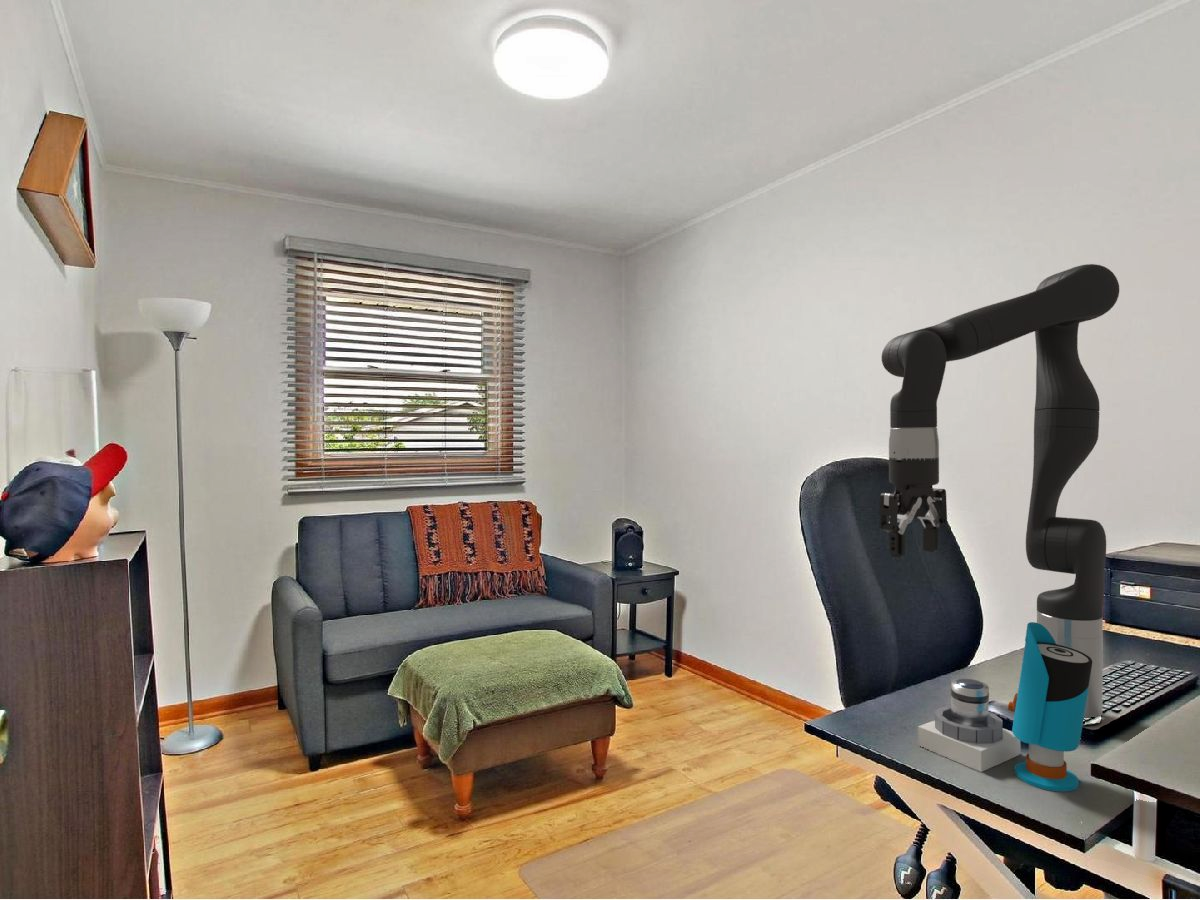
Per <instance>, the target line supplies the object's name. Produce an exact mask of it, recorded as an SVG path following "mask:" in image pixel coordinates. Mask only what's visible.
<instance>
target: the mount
mask: <svg viewBox="0 0 1200 900" xmlns="http://www.w3.org/2000/svg"><path fill="white" fill-rule="evenodd" d="M1003 726H1004V725H1003V719H1002V718H1001V717H1000V716H998V715H997V714H995V713H993V712H991V711H988V727H971V726H965V725H960V724H957V723H954V722H951V705H945V706H942V707H939V708H936V710H935V711H934V720H932V721H929V722H927V723H924V724H921V725H918V726H917V746H918V745H919V746H918V747H920V746H921V747H920V748H922V747H924V748H923V749H925V748H926V749H925V750H927V749H929V750H928V751H929V752H932V751H933V753H934V752H935V753H934V754H936V755H939V756H942V757H945V758H946V757H947V759H949V760H951V761H954V762H956V763H958V764H961V765H963V766H966V767H969V768H971V769H973V770H976V771H978V772H980V773H982V772H985V771H986V770H989V769H991V768H994V767H996V766H997V765H1000V764H1002V763H1005V762H1007V761H1009V760H1011V759H1013V758H1015V757H1018V756H1020V755H1021V741H1020V740H1019V739H1018V738H1016V737H1015V736H1014V734H1013V732H1012V730H1008V729H1007V728H1003Z"/></svg>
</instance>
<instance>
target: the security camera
mask: <svg viewBox="0 0 1200 900" xmlns="http://www.w3.org/2000/svg"><path fill="white" fill-rule="evenodd" d="M1026 625H1027V626H1026V632H1025V638H1024V641H1025V643H1024V649H1023V655H1022V663H1021V670H1020V676H1019V683H1018V689H1017V693H1015V695H1014V697H1013V701H1009V702H1008V704H1007V710H1009V711H1011V712H1014V715H1013V722H1012V728H1011V731H1012V732H1013V734H1014V736H1015V737H1016V738H1018V739H1019V740H1020V742H1022V743H1024V744H1028V753H1027V754H1026V756H1025V761H1021V762H1018V763H1016V764H1015V766H1014V774H1015V775H1016V777H1017V778H1018V779H1020V780H1021V781H1022V782H1024V783H1026V784H1028V785H1031V786H1032V787H1036V788H1040V789H1043V790H1049V791H1053V792H1070V791H1074V790H1076V789H1078V787H1079V783H1080V782H1079V778H1078V776H1077V775H1076V774H1075V773H1074V772H1072V771H1071V770H1068V769H1067V765H1068V764H1067V762H1066V760H1065V758H1064V757H1065V753H1066V752H1072V751H1076V750H1077V749H1078V748H1079V745H1080V742H1081V737H1082V732H1083V726H1084V725H1083V720H1084V714H1085V708H1086V702H1087V696H1088V690H1089V681H1090V675H1091V668H1092V659H1091V658H1090V657H1089V656H1087V655H1086V654H1084V653H1082V652H1080V651H1077V650H1075V649H1072V648H1069V647H1066V646H1062V645H1057V644H1056V642H1055V640H1054V639H1053V637H1052V635H1051V634H1050V632H1049V631H1048V630H1047V629H1046V628H1045V627H1044V626H1043V625H1041V624H1039V623H1037V622H1036V621H1035V622H1032V621H1030V622H1028V623H1027V624H1026Z"/></svg>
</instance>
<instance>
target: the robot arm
mask: <svg viewBox="0 0 1200 900" xmlns="http://www.w3.org/2000/svg"><path fill="white" fill-rule="evenodd" d="M1119 296H1120V284H1119V281H1118V278H1117V277H1116V275H1115V274H1114V272H1112V270H1110V269H1109V268H1107V267H1106V266H1105V265H1101V264H1095V263H1091V264H1089V263H1087V264H1080V265H1078V266H1074V267H1071V268H1069V269H1066V270H1063V271H1060V272H1057V273H1054V274H1052V275H1050V276H1047V277H1046V278H1044V279H1043V280H1042V281H1040V283H1039V284H1038V286H1037V287H1036V289H1035V291H1032V292H1029V293H1025V294H1023V295H1020V296H1017V297H1013V298H1010V299H1007V300H1003V301H1000V302H996V303H992V304H990V305H986V306H982V307H979V308H976V309H974V310H971V311H970V310H969V311H968V312H964V313H961V314H960V315H956V316H954V317H951V318H948V319H946V320H944V321H941V322H939V323H938V324H935V325H931V326H927V327H924V328H921V329H918V330H917V329H916V330H913V331H911V332H906V333H903V334H900V335H898V336H897V335H896V337H893V338H891V339H890V340H889V341H888V342H887V343H886V344H885V346H884V348H883V350H882V353H881V364H882V366H883V368H884V369H885V371H887V373H889V374H891V375H892V376H895V377H898V378H903V379H902V384H901V389H900V390H899V391H898V392H896V393H895V394H893V396H892V397H891V398H890V404H889V405H890V408H889V409H890V411H889V412H890V413H889V418H890V419H889V421H890V423H889V424H890V425H889V426H890V427H889V428H890V430H889V431H890V432H889V436H888V437H889V438H888V482H889V483H890V484H891V485H893V486H894V491H893V493H890V492H882V493H881V494H880V495H879V519H878V522H879V525H878V526H879V530H881V531H885V532H887V534H888V536H889V540H888V542H889V549H888V550H889V554H890V556H891V557H894V558H899V559H901V558H904V557H905V556H906V554H905V553H906V550H905V549H906V548H905V547H906V545H905V544H906V543H905V542H906V539H905V538H906V536H905V534H904V533H905V531H906V528H907V527H908V524H911V523H912V522H913V520H914V519H919V520H920V522H921V524H922V526H923V527H924V528H922V549H923V550H924V551H925V552H930V553H934V552H937V551H938V547H939V529H940V528H941V526H942V525H947V523H948V512H947V511H948V508H947V490H946V489H945V488H935V487H934V488H933V486H936V485H938V484H939V483H940V439H939V434H938V433H939V432H938V398H939V395H940V392H941V389H942V383H943V380H944V375H945V371H946V365H947V363H948V362H954V361H959V360H963V359H967V358H970V357H972V356H975V355H978V354H980V353H983V352H986V351H989V350H991V349H994V348H996V347H999V346H1002V345H1004V344H1007V343H1009V342H1011V341H1014V340H1016V339H1019V338H1021V337H1023V336H1026V335H1028V334H1031V333H1033V332H1034V338H1035V348H1036V349H1035V350H1036V369H1035V370H1036V371H1035V372H1036V374H1035V403H1034V416H1033V417H1034V419H1033V464H1032V465H1033V469H1032V481H1031V482H1032V484H1031V492H1030V493H1031V494H1030V499H1029V500H1030V501H1029V507H1028V508H1029V509H1028V514H1027V515H1028V516H1027V523H1026V524H1027V525H1026V533H1025V551H1026V553H1025V554H1026V558H1027V561H1028V563H1029V565H1030V566H1031V567H1033V568H1034V569H1036V570H1041V571H1049V572H1057V573H1063V574H1071V575H1075V578H1074V583H1073V584H1071V585H1069V586H1066V587H1063V588H1059V589H1050V590H1046V591H1043V592H1040V593H1039V594H1038V595H1037V598H1036V623H1039V624H1041V625H1043V626H1044V627H1045V628H1046V629H1047V630H1048V631H1049V632H1050V634H1051V635H1052V637H1053V639H1054V640H1055V642H1056V644H1057V645H1062V646H1066V647H1069V648H1072V649H1075V650H1077V651H1080V652H1082V653H1084V654H1086V655H1087V656H1089V657H1090V658H1091V659H1092V668H1091V675H1090V681H1089V690H1088V696H1087V702H1086V708H1085V714H1084V718H1091V717H1098V716H1101V715H1102V716H1103V673H1104V671H1103V668H1104V667H1103V666H1104V665H1103V660H1104V659H1103V652H1104V651H1103V647H1104V646H1103V637H1104V635H1103V633H1104V632H1103V625H1104V624H1103V622H1104V621H1103V620H1104V619H1103V616H1104V615H1103V613H1104V612H1103V611H1104V610H1103V608H1104V597H1105V595H1104V593H1105V572H1106V561H1107V560H1106V557H1107V536H1106V531H1105V529H1104V527H1103V525H1102V524H1101V523H1100V522H1099V521H1097V520H1094V519H1089V518H1087V519H1086V518H1074V517H1062V516H1061V517H1060V516H1057V508H1058V503H1059V500H1060V497H1061V495H1062V493H1063V490H1064V488H1065V486H1066V485H1067V483H1068V482H1069V480H1070V479H1071V478H1072V476H1073V475H1074V473H1076V471H1077V470H1079V468H1080V467H1081V465H1083V463H1084V462H1085V461H1086V460H1087V458H1088V457H1089V455H1090V454H1091V453H1092V452H1093V451H1094V450H1093V449H1094V448H1095V446H1096V444H1097V442H1098V439H1099V431H1100V411H1101V410H1100V399H1099V396H1098V393H1097V391H1096V388H1095V386H1094V385H1093V381H1092V380H1091V379H1090V377H1089V375H1088V374H1087V372H1086V371H1085V369H1084V367H1083V365H1082V362H1081V360H1080V357H1079V349H1078V344H1079V343H1078V335H1079V334H1078V333H1079V326H1080V323H1084V322H1089V321H1092V320H1095V319H1097V318H1100V317H1101V316H1103V315H1105V314H1106V313H1108V312H1109V311H1111V309H1112V308H1113V307H1114V306H1115V304H1117V301H1118V299H1119ZM937 510H938V511H939V513H938V511H937ZM938 515H939V516H938ZM888 516H889V521H888V522H887V519H888ZM898 523H899V524H898Z"/></svg>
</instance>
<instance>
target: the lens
mask: <svg viewBox="0 0 1200 900" xmlns="http://www.w3.org/2000/svg"><path fill="white" fill-rule="evenodd" d="M950 684H951V685H950V706H951V722H954V723H957V724H960V725H965V726H971V727H988V712H989V701H990V691H989V689H990V686H989V685H988V684H987V683H985V682H983V681H980V680H977V679H972V678H968V677H967V678H966V677H965V678H964V677H962V678H961V677H959V678H953V679H952V680H951V681H950Z"/></svg>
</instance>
